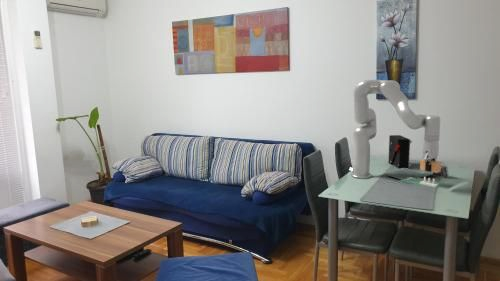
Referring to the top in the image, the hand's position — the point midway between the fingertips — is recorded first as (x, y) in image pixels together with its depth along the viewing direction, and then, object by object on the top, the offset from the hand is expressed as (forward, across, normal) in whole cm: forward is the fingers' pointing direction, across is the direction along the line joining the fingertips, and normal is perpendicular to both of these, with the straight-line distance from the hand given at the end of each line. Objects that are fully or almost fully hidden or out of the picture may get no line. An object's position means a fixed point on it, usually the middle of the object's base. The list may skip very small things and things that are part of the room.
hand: (430, 170), depth 218 cm
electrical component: (+10, -36, -38) cm, 53 cm away
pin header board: (+10, -3, -5) cm, 12 cm away
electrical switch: (+10, -23, -4) cm, 26 cm away
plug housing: (0, 0, 0) cm, 0 cm away
